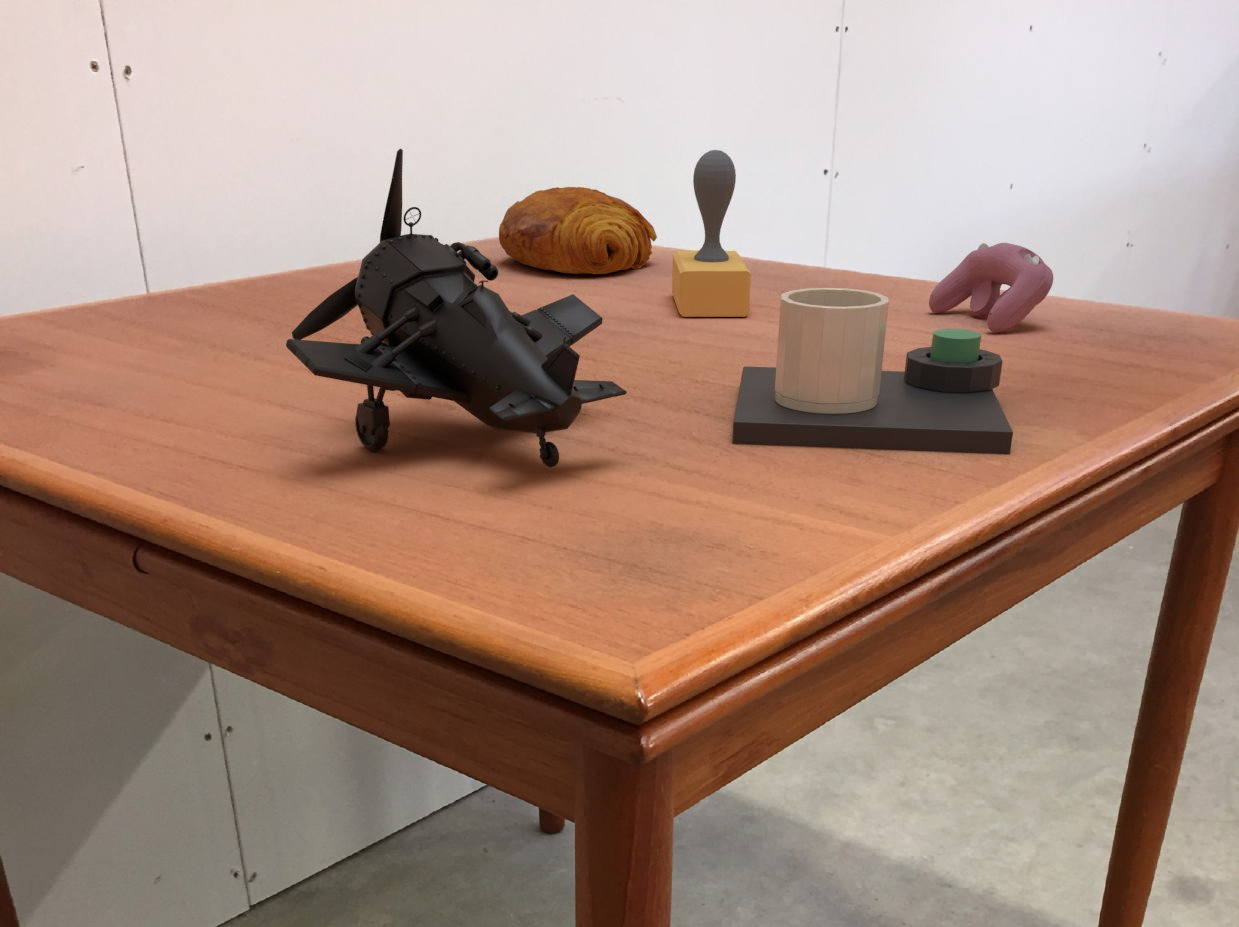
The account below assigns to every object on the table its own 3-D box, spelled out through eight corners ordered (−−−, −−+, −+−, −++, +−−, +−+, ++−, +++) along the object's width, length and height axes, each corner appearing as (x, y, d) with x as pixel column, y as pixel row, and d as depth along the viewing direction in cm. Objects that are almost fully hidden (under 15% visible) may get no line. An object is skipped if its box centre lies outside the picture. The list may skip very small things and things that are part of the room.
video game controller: (1028, 351, 107) (1074, 265, 105) (988, 328, 105) (1035, 240, 102) (957, 327, 115) (999, 247, 113) (919, 305, 112) (961, 222, 110)
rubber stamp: (749, 317, 111) (757, 155, 104) (679, 317, 110) (683, 155, 104) (736, 295, 119) (743, 144, 113) (671, 295, 119) (675, 144, 113)
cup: (875, 389, 85) (885, 289, 81) (879, 416, 79) (891, 309, 76) (775, 386, 85) (781, 286, 82) (773, 412, 80) (779, 306, 77)
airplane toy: (510, 386, 90) (500, 133, 82) (711, 448, 78) (722, 158, 70) (241, 441, 79) (199, 154, 71) (426, 523, 67) (401, 188, 59)
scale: (989, 394, 89) (995, 347, 88) (1017, 456, 77) (1026, 403, 76) (742, 385, 91) (744, 339, 89) (732, 445, 79) (734, 393, 77)
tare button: (974, 357, 87) (978, 329, 86) (979, 368, 84) (983, 339, 84) (927, 356, 87) (931, 327, 86) (931, 366, 85) (935, 337, 84)
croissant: (547, 306, 125) (548, 215, 120) (479, 257, 135) (477, 171, 130) (680, 288, 131) (687, 201, 126) (605, 242, 141) (608, 160, 136)
